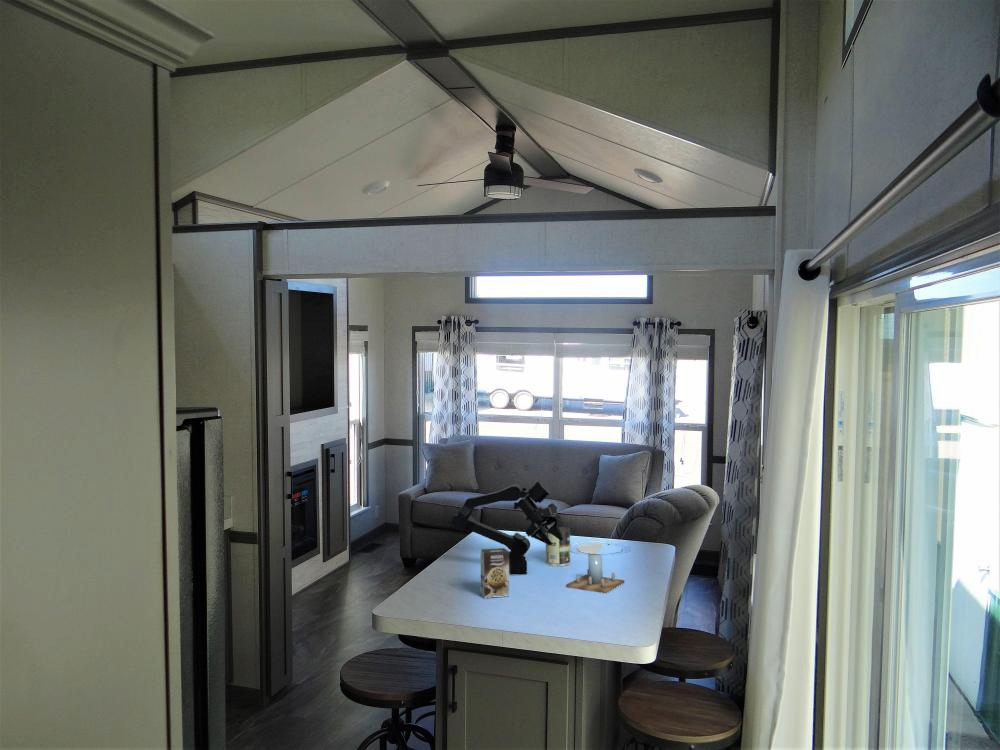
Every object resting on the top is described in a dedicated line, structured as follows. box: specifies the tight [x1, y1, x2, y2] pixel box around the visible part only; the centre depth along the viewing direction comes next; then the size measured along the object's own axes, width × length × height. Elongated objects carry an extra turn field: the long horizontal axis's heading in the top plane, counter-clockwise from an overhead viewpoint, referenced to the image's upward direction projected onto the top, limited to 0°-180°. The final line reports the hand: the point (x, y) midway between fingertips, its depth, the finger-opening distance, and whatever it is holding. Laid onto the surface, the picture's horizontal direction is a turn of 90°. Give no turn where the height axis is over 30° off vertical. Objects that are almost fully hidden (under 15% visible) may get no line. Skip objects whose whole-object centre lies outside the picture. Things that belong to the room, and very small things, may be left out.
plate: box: [570, 540, 616, 557], centre depth 352 cm, size 28×28×1 cm
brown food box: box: [480, 547, 510, 598], centre depth 282 cm, size 9×6×16 cm
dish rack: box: [566, 568, 626, 594], centre depth 295 cm, size 16×16×4 cm
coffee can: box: [544, 526, 571, 567], centre depth 328 cm, size 10×10×14 cm
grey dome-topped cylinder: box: [587, 554, 603, 584], centre depth 295 cm, size 5×5×10 cm
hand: (556, 542), depth 305 cm, fingers open, 9 cm apart
